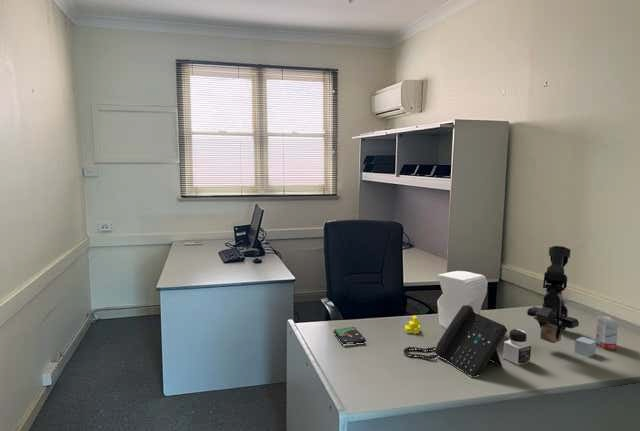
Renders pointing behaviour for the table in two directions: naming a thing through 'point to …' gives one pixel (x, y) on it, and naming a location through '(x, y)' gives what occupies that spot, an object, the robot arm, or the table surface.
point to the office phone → (468, 342)
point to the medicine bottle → (517, 347)
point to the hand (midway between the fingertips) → (550, 337)
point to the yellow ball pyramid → (413, 325)
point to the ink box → (606, 332)
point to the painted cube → (585, 346)
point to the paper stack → (460, 294)
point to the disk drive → (349, 335)
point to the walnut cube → (549, 333)
